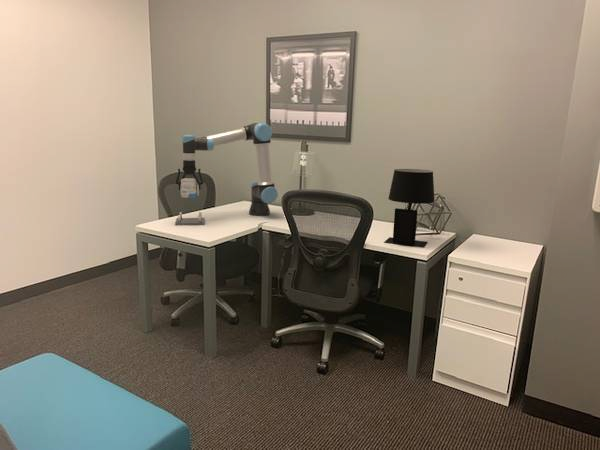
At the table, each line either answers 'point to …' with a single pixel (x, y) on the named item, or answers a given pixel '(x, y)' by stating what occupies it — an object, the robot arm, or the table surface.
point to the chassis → (190, 220)
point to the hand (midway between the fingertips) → (189, 194)
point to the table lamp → (409, 190)
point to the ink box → (189, 188)
